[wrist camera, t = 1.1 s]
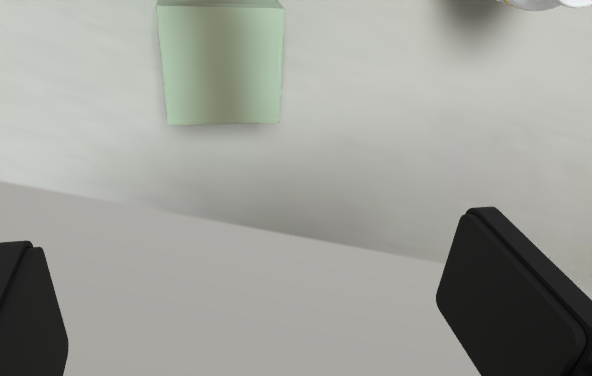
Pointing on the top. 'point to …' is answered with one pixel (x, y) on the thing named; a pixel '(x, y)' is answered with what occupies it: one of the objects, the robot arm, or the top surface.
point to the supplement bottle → (545, 4)
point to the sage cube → (221, 60)
